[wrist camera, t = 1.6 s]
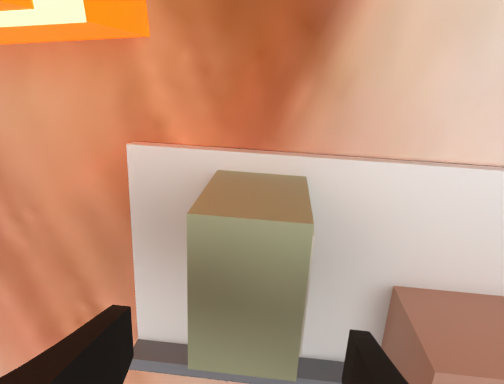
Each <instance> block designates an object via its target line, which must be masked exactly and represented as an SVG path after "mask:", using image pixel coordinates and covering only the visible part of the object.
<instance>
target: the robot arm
mask: <svg viewBox="0 0 504 384" xmlns="http://www.w3.org/2000/svg"><path fill="white" fill-rule="evenodd" d="M133 357H134V352H133V338H132V323H131V308H130V307H129V306H119V305H112V306H110V307H109V308H107V309H106V310H104V311H103V312H101V313H100V314H99V315H97V316H96V317H94V318H93V319H91V320H90V321H89V322H87V323H86V324H84V325H83V326H82V327H80V328H79V329H77V330H76V331H74V332H73V333H71V334H70V335H69V336H67V337H66V338H64V339H63V340H61V341H60V342H58V343H57V344H55V345H54V346H52V347H51V348H49V349H47V350H46V351H44V352H43V353H41V354H40V355H38V356H36V357H35V358H33V359H32V360H30V361H28V362H27V363H25V364H24V365H22V366H20V367H18V368H17V369H15V370H13V371H11V372H10V373H8V374H6V375H4V376H2V377H1V378H0V384H123V382H124V380H125V377H126V375H127V372H128V370H129V367H130V365H131V362H132V359H133ZM341 380H342V384H409V383H408V382H407V381H406V379H405V378H404V377H403V376H402V374H401V373H400V372H399V371H398V369H397V368H396V367H395V365H394V364H393V363H392V361H391V360H390V359H389V357H388V356H387V355H386V353H385V352H384V351H383V349H382V348H381V346H380V345H379V344H378V342H377V341H376V339H375V338H374V337H373V335H372V334H371V333H370V332H369V331H362V330H352V329H350V331H349V337H348V343H347V349H346V355H345V361H344V367H343V373H342V379H341Z"/></svg>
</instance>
